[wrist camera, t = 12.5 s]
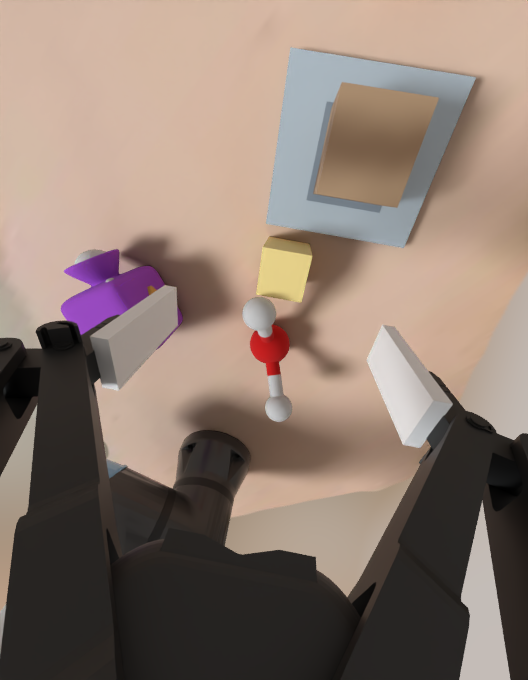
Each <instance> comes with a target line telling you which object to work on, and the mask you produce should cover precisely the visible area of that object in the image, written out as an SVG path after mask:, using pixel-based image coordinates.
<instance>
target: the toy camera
mask: <svg viewBox="0 0 528 680" xmlns="http://www.w3.org/2000/svg"><path fill="white" fill-rule="evenodd" d="M64 272H65V273H66V274H68V275H70V276H72V277H74V278H76V279H78V280H81V281H83V282H85V283H88V284H90V285H91V286H92V287H91V288H89V289H87V290H85V291H83V292H81V293H79V294H77V295H75V296H73V297H71V298H69V299H68V300H66V301H65V302H64V303H63V304H62V306H61V312H62V313H63V315H64V317H65V318H66V320H67V321H72V322H75V323H77V325H78V327H79V331H80V334H81V335H82V334H84V333H85V332H87V331H88V330H90V329H91V328H93V327H95V326H96V325H98V324H100V323H101V322H102V321H104V320H105V319H107V318H109V317H112V316H115V315H122V314H123V313H125V312H126V311H127V310H129V309H130V308H132V307H133V306H135V305H136V304H138V303H139V302H141V301H142V300H144V299H145V298H146V297H148V296H149V295H151V294H152V293H154V292H155V291H157V290H158V289H160V288H161V287H163V286H164V285H165V284H164V282H163V280H162V279H161V277H160V275H159V274H158V272H157V271H156V270H155V269H154V268H153V267H151V266H142V267H138V268H135V269H133V270H130V271H128V272H126V273H123V274H119V250H117V249H115V250H111V251H108V252H105V251H102V250H96V249H94V250H88V251H85V252H83V253H81V254H80V255H79V256H78V257H77V259H76V261H75V265H73V266H71V267H69V268H67V269H66V270H64ZM177 315H178V326H177V327H176V328H175V329H174V330H173V331H172V332H171V334H170V335H169V336H168V337H167V338H166V339H165V340H164V341H163V342H162V344H161V345H160V346H159V347H161V346H162V345H163V344H164V342H165V341H166V340H167V339H168V338H169V337H170V336H171V335H172V334H173V332H174V331H175V330H176V329H177V328H178V327H179V325H180V324H181V323H182V320H183V317H182V314H181V312H180V310H179V308H178V306H177ZM159 347H158V348H159ZM158 348H157V349H158ZM157 349H156V350H157Z"/></svg>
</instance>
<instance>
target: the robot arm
mask: <svg viewBox="0 0 528 680" xmlns="http://www.w3.org/2000/svg"><path fill="white" fill-rule="evenodd" d="M177 326H178V315H177V288H176V287H172V286H167V285H164V286H163V287H161V288H160V289H158V290H157V291H155V292H154V293H152V294H151V295H149V296H148V297H146V298H145V299H144V300H142V301H141V302H139V303H138V304H136V305H135V306H133V307H132V308H130V309H129V310H127V311H126V312H125V313H123V314H122V315H115V316H112V317H109V318H107V319H105V320H104V321H102V322H101V323H100V324H98V325H96V326H95V327H93V328H91V329H90V330H88V331H87V332H85V333H84V334H82V335H81V334H80V331H79V327H78V325H77V323H75V322H72V321H55V322H50V323H47V324H44V325H42V326H40V327H38V328H37V330H36V334H37V336H38V339H39V342H40V344H41V347H42V349H25V347H24V345H23V342H22V341H21V340H20V339H17V338H0V476H1V474H2V472H3V470H4V468H5V466H6V464H7V462H8V460H9V458H10V456H11V454H12V452H13V450H14V448H15V446H16V445H17V442H18V440H19V439H20V437H21V435H22V433H23V431H24V429H25V426H26V425H27V423H28V421H29V419H30V417H31V415H32V413H33V411H34V409H35V407H36V405H37V416H36V427H35V438H34V450H33V462H32V472H31V483H30V495H29V507H28V512H27V514H26V515H24V516H22V517H20V518H19V520H18V522H17V525H16V529H15V535H14V543H13V552H12V560H11V569H10V577H9V586H8V594H7V602H6V605H5V606H4V607H3V609H2V610H1V612H0V680H459V677H460V671H461V666H462V661H463V655H464V650H465V644H466V639H467V634H468V628H469V618H470V615H469V610H468V608H467V607H466V606H465V605H464V604H463V603H462V602H461V593H462V588H463V584H464V579H465V575H466V570H467V566H468V561H469V556H470V552H471V547H472V543H473V539H474V534H475V529H476V525H477V521H478V516H479V511H480V507H481V503H482V500H483V506H484V513H485V520H486V526H487V532H488V538H489V545H490V551H491V558H492V564H493V570H494V576H495V583H496V589H497V596H498V602H499V609H500V615H501V622H502V628H503V634H504V641H505V647H506V653H507V660H508V666H509V672H510V679H511V680H528V434H524V433H523V434H521V435H519V436H518V437H517V438H516V439H515V440H512V439H509V438H507V437H504V436H502V435H499V434H497V433H496V430H495V429H494V427H493V426H492V425H491V424H490V423H489V422H488V421H487V420H485V419H483V418H482V417H480V416H478V415H476V414H474V413H472V412H468V411H465V409H464V408H463V407H462V406H461V404H460V403H459V402H458V401H457V399H456V398H455V397H454V395H453V394H452V393H451V392H450V390H449V389H448V388H447V387H446V385H445V384H444V383H443V382H442V380H441V379H440V378H439V377H437V376H436V375H435V374H434V373H432V372H430V371H428V370H427V369H426V368H425V366H424V365H423V364H422V362H421V361H420V360H419V358H418V357H417V356H416V354H415V353H414V352H413V351H412V349H411V348H410V347H409V345H408V344H407V343H406V341H405V340H404V339H403V337H402V336H401V335H400V333H399V332H398V331H397V329H396V328H395V327H392V326H387V325H382V327H381V329H380V331H379V333H378V336H377V338H376V340H375V342H374V345H373V347H372V349H371V351H370V354H369V356H368V358H367V363H368V365H369V367H370V370H371V372H372V374H373V376H374V379H375V381H376V383H377V386H378V388H379V390H380V393H381V395H382V397H383V400H384V402H385V404H386V407H387V409H388V411H389V414H390V416H391V418H392V420H393V423H394V425H395V427H396V430H397V432H398V434H399V437H400V439H401V441H402V444H403V445H407V446H412V447H417V448H420V447H421V446H422V445H423V443H424V442H425V441H426V439H427V440H428V442H429V444H430V446H431V448H430V449H429V450H428V451H427V453H426V454H425V455H424V457H423V458H422V459H421V460H420V462H419V463H420V466H419V468H418V470H417V472H416V474H415V476H414V477H413V479H412V481H411V483H410V485H409V487H408V489H407V491H406V493H405V495H404V496H403V498H402V500H401V502H400V504H399V506H398V508H397V510H396V511H395V513H394V515H393V517H392V519H391V521H390V523H389V525H388V527H387V528H386V530H385V532H384V534H383V536H382V538H381V540H380V542H379V543H378V546H377V547H376V549H375V551H374V553H373V555H372V557H371V559H370V561H369V563H368V564H367V566H366V568H365V570H364V572H363V574H362V576H361V577H360V579H359V581H358V582H357V584H356V586H355V587H354V588H353V590H352V591H351V593H350V594H349V596H348V597H346V595H345V594H344V593H343V592H342V591H341V590H340V589H339V588H338V586H337V585H335V584H334V583H333V582H332V581H331V580H330V579H329V578H327V577H326V576H325V575H324V574H322V573H321V572H319V571H317V570H316V557H312V556H307V555H302V554H297V553H292V552H287V551H283V550H275V551H267V552H260V553H252V554H245V555H241V554H237V553H235V552H234V551H232V550H230V549H228V548H227V547H225V541H226V536H227V531H228V526H229V521H230V516H231V511H232V506H233V501H234V497H235V495H236V493H237V491H238V489H239V488H240V486H241V484H242V482H243V480H244V478H245V476H246V475H247V472H248V469H249V464H250V454H249V451H248V450H247V448H246V447H245V446H244V445H243V444H242V443H241V442H240V441H239V440H237V439H236V438H234V437H232V436H230V435H227V434H224V433H221V432H216V431H199V432H195V433H193V434H191V435H189V436H188V437H186V439H185V440H184V442H183V444H182V446H181V448H180V451H179V455H178V464H177V474H176V482H175V484H174V486H173V489H172V488H169V487H167V486H165V485H163V484H161V483H159V482H157V481H155V480H153V479H150V478H148V477H146V476H144V475H142V474H140V473H138V472H136V471H133V470H131V469H129V468H127V467H128V466H126V465H120V464H118V463H115V462H113V461H110V460H108V459H106V455H105V448H104V442H103V435H102V429H101V422H100V416H99V409H98V403H97V396H96V390H95V386H94V383H95V382H96V381H97V380H98V379H99V378H100V379H101V383H102V387H103V388H108V389H113V390H118V391H119V390H120V389H121V388H122V387H123V385H124V384H125V383H126V382H127V381H128V380H129V379H130V378H131V377H132V375H133V374H134V373H135V372H136V371H137V370H138V369H139V368H140V367H141V366H142V364H143V363H144V362H145V361H146V360H147V359H148V358H149V357H150V356H151V355H152V353H153V352H154V351H155V350H156V349H157V348H158V347H159V346H160V345H161V344H162V342H163V341H164V340H165V339H166V338H167V337H168V336H169V335H170V334H171V332H172V331H173V330H174V329H175V328H176V327H177ZM37 403H38V404H37Z"/></svg>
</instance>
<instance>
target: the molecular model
mask: <svg viewBox="0 0 528 680" xmlns="http://www.w3.org/2000/svg"><path fill="white" fill-rule="evenodd" d="M275 318H276V309H275V307H274V305H273V303H272V302H271V301H270V300H268V299H266V298H263V297H255V298H252V299H251V300H249V301H248V302H247V303H246V304H245V306H244V308H243V319H244V322H245V323H246V325H247V326H248V327H250V328H251V329H253V330H256V331H255V332H254V333H253V335H252V337H251V340H250V348H251V351H252V353H253V355H254V356H255V358H256V359H258V360H259V361H261V362H263V363H266V368H267V375H268V382H269V390H270V397H269V399H268V400H267V402H266V405H265V410H266V413H267V415H268V417H269V418H270V419H272V420H273V421H277V422H281V421H284V420H286V419H287V418H289V416H290V415H291V412H292V404H291V401H290V400H289V398H288V397H286V396H285V395H284V394H283V387H282V380H281V373H280V366H279V361H281V360H282V359H283V358H284V357H285V356H286V355H287V353H288V351H289V346H290V343H289V338H288V335H287V334H286V332H285V331H284V330H283V329H282V328H280V327H279V326H276V325H272V324H273V323H274V321H275Z"/></svg>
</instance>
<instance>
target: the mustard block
mask: <svg viewBox="0 0 528 680" xmlns="http://www.w3.org/2000/svg"><path fill="white" fill-rule="evenodd" d="M311 260H312V252H311V248H310V244H308V243H302V242H297V241H291V240H286V239H280V238H275V237H269V238H268V239H267V241H266V243H265V244H264V246H263V249H262V256H261V263H260V270H259V277H258V284H257V291H256V294H257V295H262V296H268V297H273V298H278V299H284V300H289V301H295V302H300V303H301V301H302V297H303V293H304V289H305V285H306V281H307V277H308V273H309V268H310V264H311Z"/></svg>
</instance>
